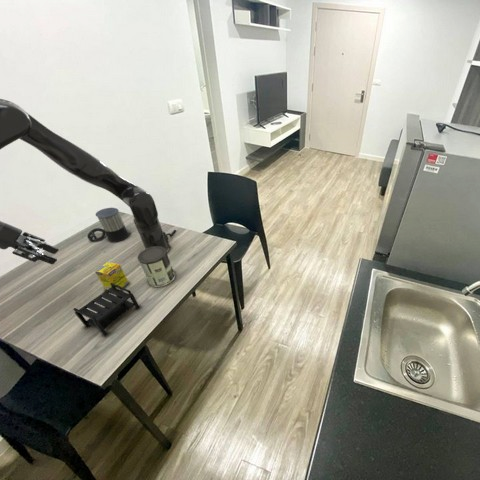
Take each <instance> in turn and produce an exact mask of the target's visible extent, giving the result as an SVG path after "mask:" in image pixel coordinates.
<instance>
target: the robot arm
mask: <svg viewBox="0 0 480 480" xmlns="http://www.w3.org/2000/svg"><path fill="white" fill-rule="evenodd" d="M18 140H21V141H22V142H24V143H26V144H28V145H30V146H32V147H33V148H34V149H36V150H38V151H39V152H41V153H42V154H43V155H44V156H46V157H47V158H48V159H49V160H51V161H52V162H53V163H55V164H56V165H58V166H59V167H60V168H62V169H63V170H65V171H66V172H68V173H69V174H71V175H73V176H74V177H77V178H78V179H80V180H82V181H84V182H85V183H88V184H90V185H93V186H95V187H98V188H101V189H103V190H105V191H108V192H109V193H111V194H112V195H114V196H115V197H117V198H118V199H119V200H121V201H122V202H123V203H125V205H126V206H128V207H129V209H130V211H131V213H132V216H133V224H134V225H135V228H136V230H137V232H138V234H139V237H140V240H141V242H142V244H143V246H144V247H143V248H144V250H145V249H147V248H149V247H154V246H161V247H164V248H165V249H166V251H167V253H169V251H170V249H171V245H170V242H169V236H170V237H172V236H174V234H175V233H176V229H174V230H173V231H172V232H171V233H170V232H168V233H166V232H165V231H163V228H162V225H161V223H160V220H159V213H158V209H157V206H156V203H155V199H154V198H153V196H152V195H151V194H150V193H149V192H148V191H147V190H145V189H143V188H142V187H140V186H138V185H136V184H134V183H133V182H130V181H128V180H127V179H125V178H124V177H121V176H120V175H119V174H117V172H116V171H114V170H113V169H111V168H110V167H109V166H108V165H106V164H105V163H104V162H103V161H101V160H100V159H99V158H97V157H95V156H94V155H92V154H91V153H89V152H88V151H86V150H85V149H83V148H81V147H80V146H78V145H77V144H75V143H73V142H72V141H70V140H68V139H66V138H64V137H62V136H61V135H59V134H57V133H56V132H55V131H53V130H52V129H50V128H48V127H47V126H45V125H44V124H43V123H41V122H40V121H39V120H37V119H36V118H35V117H33V116H32V115H31V114H30V113H28V112H27V111H26V110H25V109H23V108H22V107H21V106H20V105H18V104H17V103H14V102H13V101H11V100H8V99H5V98H4V99H3V98H0V150H2V149H3V148H4V149H5V147H7V146H9V145H11V144H13V143H14V142H16V141H18ZM8 248H12V249H14V250H13V251H12V252H11V254H13V255H15V256H18V257H20V258H23V259H25V260H28V261H31V262H33V263H36V262H37V261H42V262H44V263H46V264H49V265H55V263H57V261H58V258H56V257H53V256H52V255H48V254H46V253H43V252H42V251H45V252H47V253H49V254H53V255H56V254H57V253H58V252H59V248H58V247H55V246H54V245H51V244H49V243H48V242H46V240H45V238H41V237H39V236H36V235H34V234H31V233H29V232H26V231H24V232H23V230H22V229H20V228H18V227H16V226H13V225H11V224H9V223H7V222H4V221H1V220H0V250H6V249H8ZM41 250H42V251H41Z"/></svg>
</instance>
